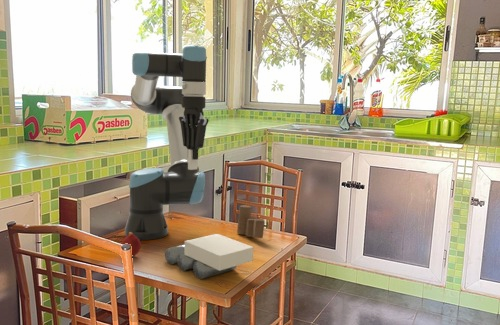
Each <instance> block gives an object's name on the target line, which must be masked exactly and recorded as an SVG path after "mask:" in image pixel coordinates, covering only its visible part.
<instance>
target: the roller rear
mask: <svg viewBox="0 0 500 325" xmlns="http://www.w3.org/2000/svg"><path fill="white" fill-rule="evenodd" d="M184 246H185V243H184V244H179V245H176V246H170V247H167V248H166V249H165V251H164V257H165V261H166V262H167V264H170V265H174V264H178V263H177V257H178V255H179V254H182V253H184Z"/></svg>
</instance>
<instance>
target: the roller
mask: <svg viewBox="0 0 500 325" xmlns="http://www.w3.org/2000/svg"><path fill="white" fill-rule="evenodd" d="M236 268H237V266H234V267H230V268H227V269H223V270H220V271H219V270H217V269H215V268H213V267H211V266H208V265H206V264H204V263H202V262H200V261H197V262H195V263H194V265H193V269H192V270H193V274H194V276H195V278H197V279H199V280H203V279H207V278H209V277H213V276H216V275H220V274H223V273H227V272H229V271H234V270H235V269H236Z"/></svg>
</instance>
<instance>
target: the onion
mask: <svg viewBox="0 0 500 325" xmlns="http://www.w3.org/2000/svg"><path fill="white" fill-rule="evenodd" d="M128 234H129V235H128V236H125V237H124V238H123V240H122V242H121V244H125V243H128V244H131V246H132V255H133V257H134V256H136V255H137V254H138V253H139V252H140V250H141V247H142V244H141V240H139V239H138V238H137V237H136V236H135V235H134V234H132V233H131V232H129V233H128Z"/></svg>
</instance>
